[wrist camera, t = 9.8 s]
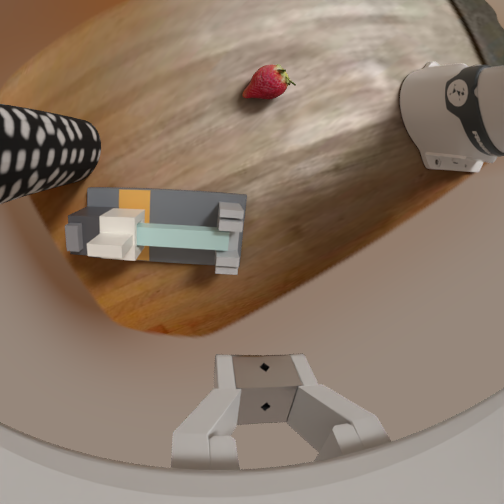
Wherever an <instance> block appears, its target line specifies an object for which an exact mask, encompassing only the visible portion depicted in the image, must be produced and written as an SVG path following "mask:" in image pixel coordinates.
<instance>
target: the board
mask: <svg viewBox="0 0 504 504" xmlns="http://www.w3.org/2000/svg"><path fill="white" fill-rule="evenodd" d="M246 199H247V195H245V194H233V193H220V192H206V191H191V190H172V189H149V188H109V187H90V188H88V192H87V206H89V207H115V208H122V209H145V223H153V224H172V225H189V226H205V227H217V221H218V209H219V202H228V203H239V204H240V205H241V207H242V209H243V210H244V215H243V219H242V221H243V227H244V218H245V208H246ZM242 237H243V230H242V232H239V241H238V254H239V258H240V256H241V247H242ZM90 257H93V256H90ZM98 258H101V257H98ZM136 260H140V261H154V262H170V263H186V264H202V265H215V250H207V249H191V248H174V247H158V246H144V249H143V250H142V252H141V253H140V255H139V256H138V257H137V259H136ZM239 266H240V259H239Z"/></svg>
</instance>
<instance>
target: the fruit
mask: <svg viewBox="0 0 504 504" xmlns="http://www.w3.org/2000/svg"><path fill="white" fill-rule="evenodd" d="M285 71H286V70H284V69H283V68H282V67H281V65H266V66H263V67H261V68H259V69H258V71H257V72H256V73H255V74H254V75H253V77H252V79H251V82H250V83H249V85H248V86H247V87H246V88H245V90H244V91H243V97H244V98H260V99H273V98H276V97H278V96H279V95H281V94H282V93H284V92H285V90H286V89H287V86H288V85H290V83H292V84H294V85H295V86H296V84H295V83H294V82H292V81H291V80H290V79H289V77H288V75H287V73H286V72H285Z"/></svg>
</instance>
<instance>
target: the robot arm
mask: <svg viewBox="0 0 504 504" xmlns="http://www.w3.org/2000/svg"><path fill="white" fill-rule="evenodd" d="M400 108H401V114H402V118H403V121H404V124H405V127H406V129H407V131H408V133H409V135H410V137H411V138H412V140H413V141H414V143H415V144H416V146H417V147H418V149H419V150H420V153H421V156H422V160H423V163H424V165H425V167H426V168H427V169H436V170H452V171H465V172H479V171H480V169H481V167H482V165H483V162H488V163H493V162H494V161H495V160H496V158H497V157H500V156H504V65H503V66H496V67H491V66H489V65H473V66H471V67H468V66H467V65H466V64H464V63H456V64H447V65H439V64H438V63H437V62H435V61H433V62H428V63H427V64H426V65H425V67H424V68H423V69H421V70H417V71H414V72H412V73H410V74H409V75H408V76H407V77H406V79H405V80H404V82H403V84H402V88H401V92H400ZM435 161H436V163H435ZM214 371H215V372H214V389H212V390H211V391H210V393H209V394H208V395H207V396H206V397H205V398H204V399H203V401H202V402H201V403H200V404H199V405H198V406H197V407H196V408H195V409H194V410H193V412H192V413H191V414H190V415H189V416H188V417H187V418H186V419H185V420H184V421H183V422H182V424H181V425H180V426H179V427H178V428H177V429H176V430H175V431H174V432H173V440H172V458H171V468H164V467H155V466H147V465H140V464H134V463H127V462H122V461H116V460H111V459H107V458H102V457H97V456H93V455H89V454H86V453H82V452H78V451H74V450H71V449H68V448H64V447H61V446H58V445H55V444H52V443H49V442H46V441H43V440H41V439H38V438H35V437H33V436H30V435H28V434H25V433H23V432H21V431H18V430H16V429H14V428H12V427H9V426H7V425H5V424H3V423H1V422H0V504H504V388H503V389H501V390H499V391H498V392H496V393H495V394H493V395H491V396H490V397H488V398H487V399H485V400H483V401H481V402H479V403H478V404H476V405H474V406H472V407H470V408H469V409H467V410H465V411H463V412H461V413H459V414H457V415H455V416H453V417H451V418H449V419H447V420H445V421H443V422H440V423H438V424H436V425H434V426H431V427H429V428H427V429H424V430H422V431H419V432H417V433H414V434H411V435H409V436H406V437H403V438H401V439H398V440H395V441H392V442H391V440H390V438H389V437H388V435H387V433H386V431H385V430H384V428H383V426H382V425H381V423H380V421H379V420H378V418H377V416H376V415H374V414H372V413H370V412H369V411H367V410H365V409H363V408H361V407H360V406H358V405H356V404H355V403H353V402H351V401H349V400H348V399H346V398H344V397H343V396H341V395H340V394H338V393H336V392H335V391H333V390H332V389H329V388H328V387H327V386H325V385H323V384H318V382H317V380H316V378H315V376H314V374H313V372H312V369H311V367H310V365H309V363H308V361H307V359H306V357H305V355H304V354H289V355H266V356H261V355H260V356H259V355H220V354H216V356H215V370H214ZM277 422H287V424H288V425H289V426H290V427H291V428H293V429H294V430H295V431H296V432H297V433H298V434H299V435H300V436H301V437H302V438H303V439H304V440H305V441H307V442H308V443H309V444H310V445H311V446H312V447H313V448H315V449H316V450H317V451H318V452H319V454H318V456H317V457H316V459H315V460H314V462H309V463H302V464H295V465H289V466H281V467H280V466H279V467H270V468H258V469H244V470H243V469H241V470H240V468H239V463H238V456H237V449H236V443H235V439H234V438H232V437H231V434H232V433H233V431H234V430H235V428H236V426H237V425H242V424H258V423H277Z"/></svg>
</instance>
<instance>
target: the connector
mask: <svg viewBox="0 0 504 504" xmlns="http://www.w3.org/2000/svg"><path fill="white" fill-rule="evenodd" d="M113 208H115V207H89V206H87V207H85V208H83V209H81V210H79V211H77V212H75V213H72V214H70V215H68V224H67V225H65V234H66V246H67V251H70V252H71V254H75V255H88V254H87V243H88V242H90V241H91V240H92V239H93V238H95V237H96V236H97V235H99V234H100V220H99V216H101V215H103V214H104V213H106V212H108V211H109V210H111V209H113Z"/></svg>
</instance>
